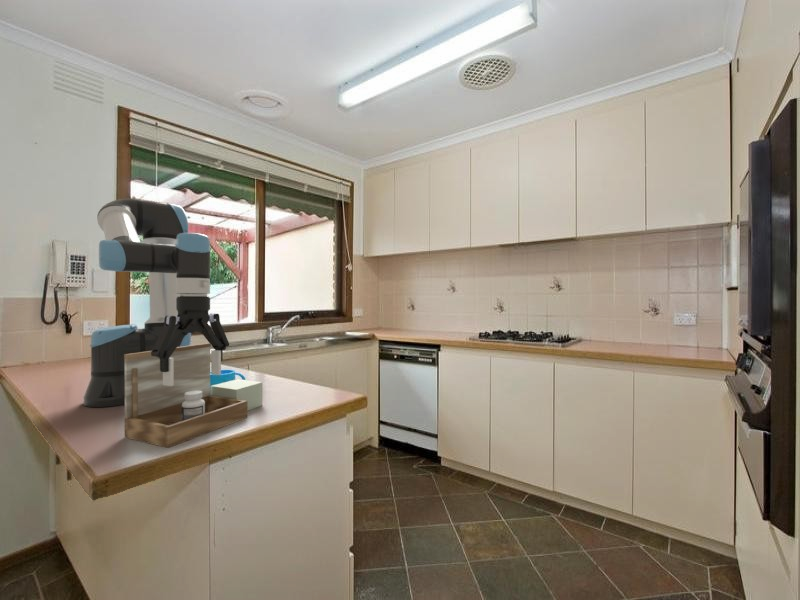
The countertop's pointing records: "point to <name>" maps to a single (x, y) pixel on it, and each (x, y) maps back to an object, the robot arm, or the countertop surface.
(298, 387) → the countertop surface
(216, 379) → the mug
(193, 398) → the pill bottle
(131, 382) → the wooden tray with backboard
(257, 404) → the step
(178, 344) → the robot arm
